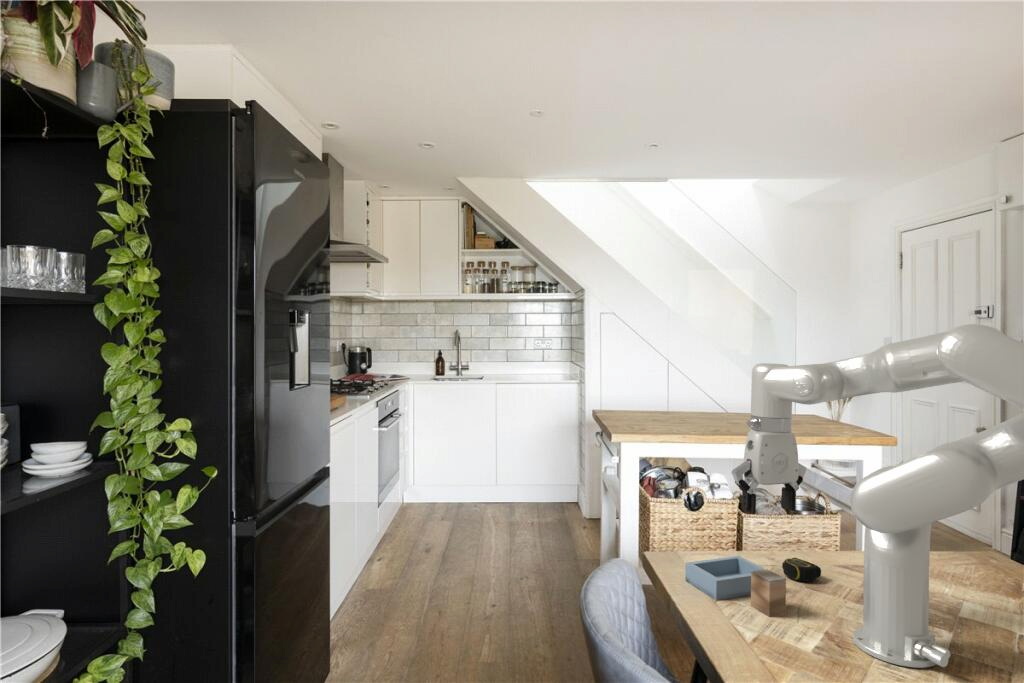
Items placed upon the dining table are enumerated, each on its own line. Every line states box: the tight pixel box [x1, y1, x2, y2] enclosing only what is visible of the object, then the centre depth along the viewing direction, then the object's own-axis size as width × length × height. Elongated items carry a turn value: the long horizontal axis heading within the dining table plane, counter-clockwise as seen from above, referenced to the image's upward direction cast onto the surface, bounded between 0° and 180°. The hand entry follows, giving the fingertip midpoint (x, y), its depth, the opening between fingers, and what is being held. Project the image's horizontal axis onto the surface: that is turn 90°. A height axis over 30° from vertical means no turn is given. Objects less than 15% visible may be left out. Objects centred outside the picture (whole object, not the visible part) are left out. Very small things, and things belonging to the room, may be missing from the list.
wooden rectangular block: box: [750, 568, 787, 618], centre depth 117 cm, size 5×4×7 cm
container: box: [685, 555, 766, 601], centre depth 128 cm, size 10×14×4 cm
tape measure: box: [781, 557, 822, 582], centre depth 133 cm, size 7×7×4 cm
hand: (768, 510), depth 118 cm, fingers open, 9 cm apart
